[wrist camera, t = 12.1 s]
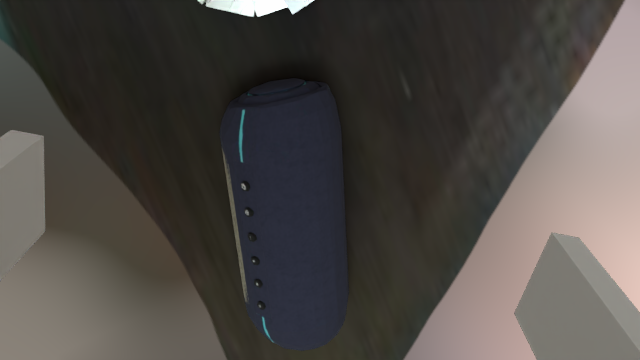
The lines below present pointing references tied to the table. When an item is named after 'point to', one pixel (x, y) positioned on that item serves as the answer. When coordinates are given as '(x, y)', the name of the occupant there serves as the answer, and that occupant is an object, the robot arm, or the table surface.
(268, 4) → the collar
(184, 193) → the table surface
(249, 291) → the portable speaker
